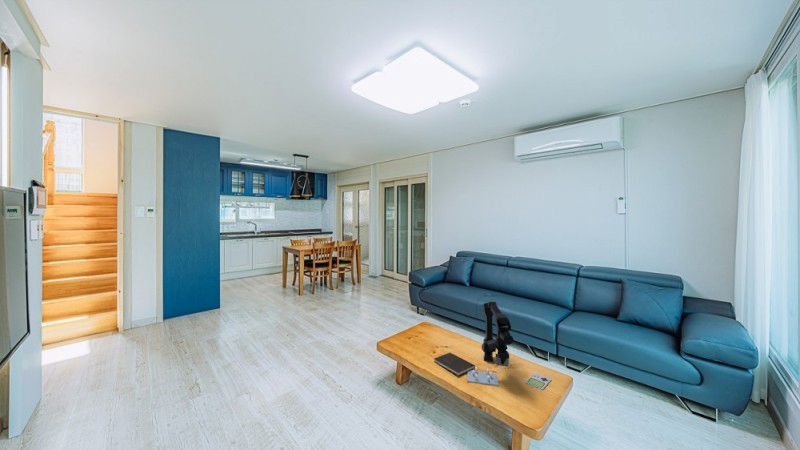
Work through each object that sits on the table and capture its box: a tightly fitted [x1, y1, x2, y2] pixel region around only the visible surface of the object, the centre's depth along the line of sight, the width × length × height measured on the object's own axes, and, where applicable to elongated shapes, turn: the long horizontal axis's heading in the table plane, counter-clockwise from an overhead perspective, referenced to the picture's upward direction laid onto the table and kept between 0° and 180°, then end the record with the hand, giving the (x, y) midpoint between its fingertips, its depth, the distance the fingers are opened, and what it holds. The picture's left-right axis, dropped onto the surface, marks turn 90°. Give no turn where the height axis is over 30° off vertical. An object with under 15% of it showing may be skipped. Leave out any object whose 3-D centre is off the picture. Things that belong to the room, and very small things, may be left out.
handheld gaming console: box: [525, 372, 552, 391], centre depth 169 cm, size 10×2×15 cm
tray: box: [466, 366, 499, 387], centre depth 172 cm, size 12×18×4 cm, turn 75°
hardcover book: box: [433, 352, 476, 377], centre depth 187 cm, size 16×23×2 cm
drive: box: [495, 353, 510, 367], centre depth 170 cm, size 4×7×5 cm, turn 77°
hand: (501, 362), depth 170 cm, fingers closed on drive, 4 cm apart
